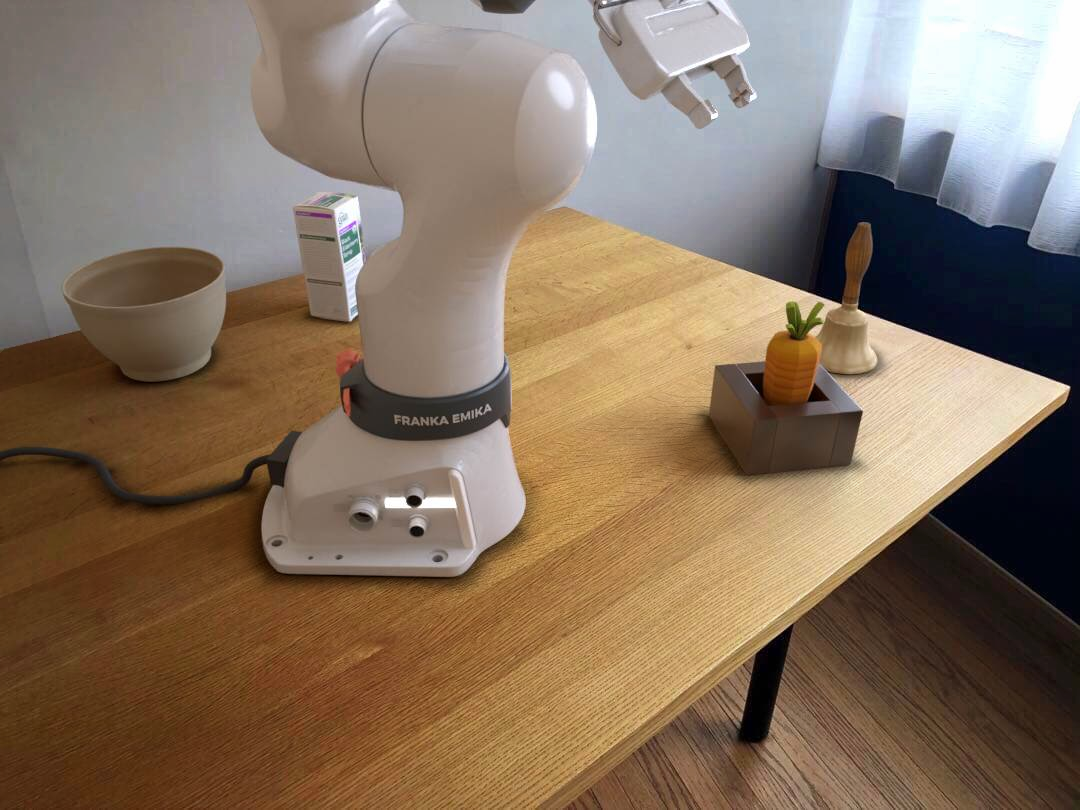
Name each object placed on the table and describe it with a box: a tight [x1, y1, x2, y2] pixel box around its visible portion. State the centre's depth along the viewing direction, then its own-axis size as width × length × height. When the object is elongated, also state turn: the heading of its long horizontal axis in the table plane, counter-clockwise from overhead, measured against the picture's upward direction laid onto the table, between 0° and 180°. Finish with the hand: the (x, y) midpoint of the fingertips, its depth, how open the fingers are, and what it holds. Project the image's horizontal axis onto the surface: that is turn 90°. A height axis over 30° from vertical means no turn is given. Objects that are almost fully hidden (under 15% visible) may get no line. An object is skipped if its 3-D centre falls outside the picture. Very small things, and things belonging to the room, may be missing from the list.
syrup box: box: [292, 191, 367, 323], centre depth 106 cm, size 6×6×14 cm
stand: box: [708, 360, 864, 476], centre depth 83 cm, size 10×10×6 cm
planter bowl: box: [61, 246, 227, 383], centre depth 95 cm, size 16×16×11 cm
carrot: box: [763, 300, 825, 407], centre depth 81 cm, size 5×5×15 cm
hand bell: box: [814, 221, 878, 375], centre depth 95 cm, size 8×8×16 cm
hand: (729, 112), depth 80 cm, fingers open, 8 cm apart
